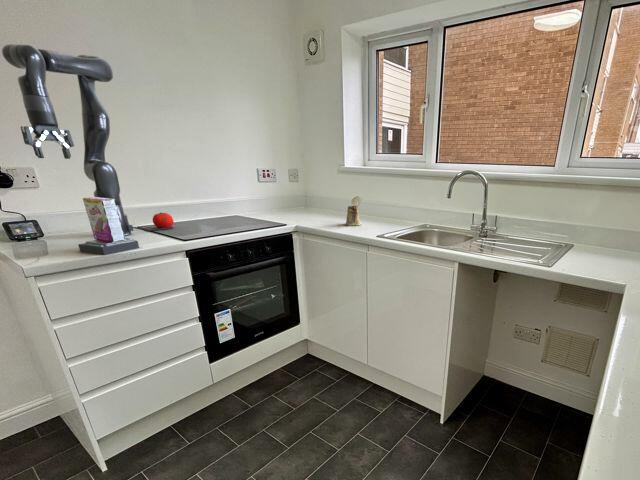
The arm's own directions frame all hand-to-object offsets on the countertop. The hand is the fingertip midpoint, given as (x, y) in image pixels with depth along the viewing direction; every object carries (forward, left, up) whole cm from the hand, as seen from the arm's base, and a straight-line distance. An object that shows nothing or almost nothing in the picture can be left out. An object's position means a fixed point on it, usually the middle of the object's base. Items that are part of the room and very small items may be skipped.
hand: (54, 158), depth 133 cm
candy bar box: (-2, +15, -30) cm, 34 cm away
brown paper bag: (-102, +78, -34) cm, 133 cm away
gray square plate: (-2, +15, -31) cm, 35 cm away
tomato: (-45, -7, -34) cm, 57 cm away
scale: (-1, +15, -34) cm, 37 cm away
